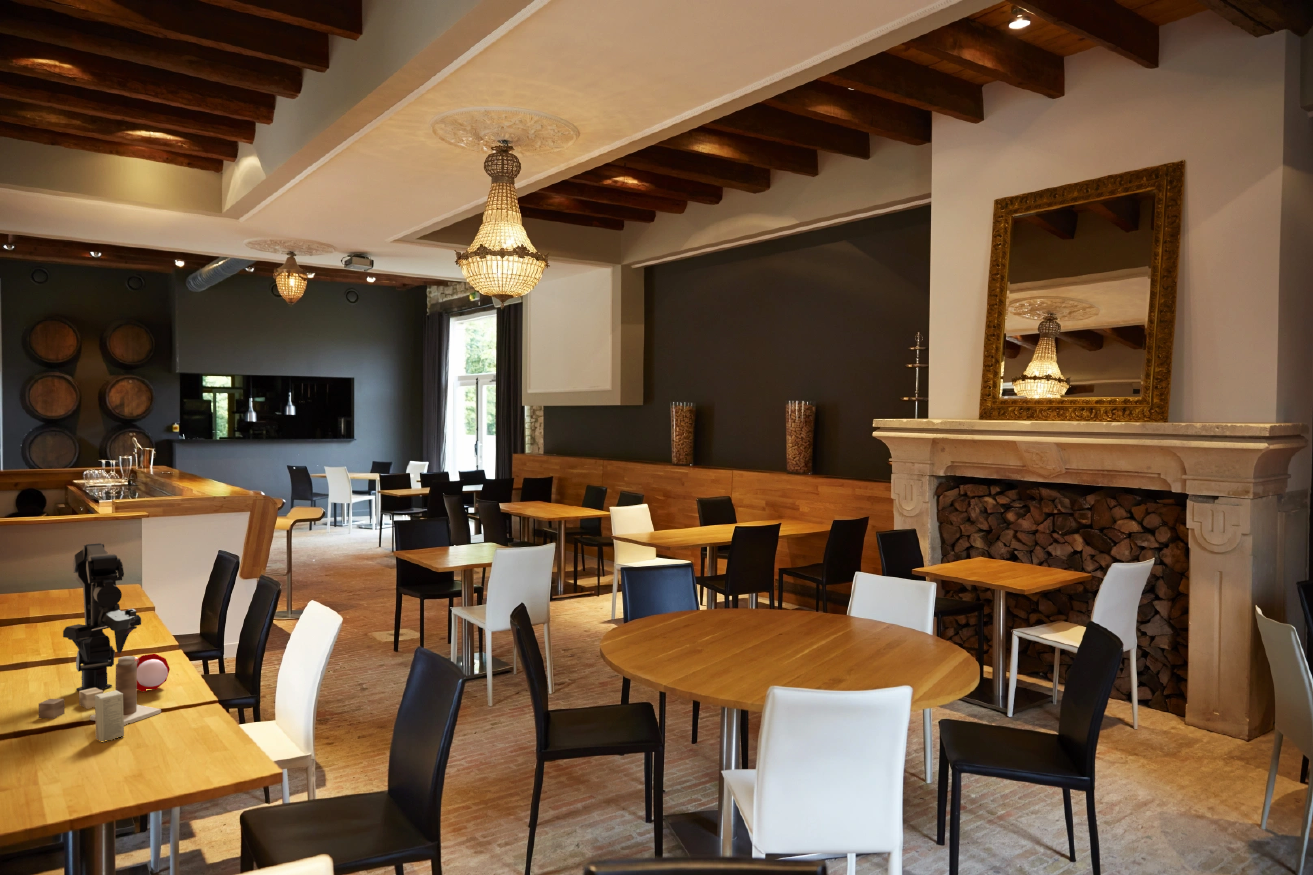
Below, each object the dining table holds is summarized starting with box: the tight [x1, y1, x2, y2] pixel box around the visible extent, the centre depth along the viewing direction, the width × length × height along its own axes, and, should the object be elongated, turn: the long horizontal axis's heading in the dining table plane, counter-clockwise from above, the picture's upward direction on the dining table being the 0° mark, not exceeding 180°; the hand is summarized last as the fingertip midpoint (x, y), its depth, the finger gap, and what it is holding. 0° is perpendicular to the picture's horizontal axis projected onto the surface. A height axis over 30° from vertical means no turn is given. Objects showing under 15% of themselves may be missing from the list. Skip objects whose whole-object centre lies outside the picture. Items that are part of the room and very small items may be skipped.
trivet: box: [89, 704, 162, 726], centre depth 227 cm, size 12×11×1 cm
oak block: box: [78, 688, 104, 709], centre depth 235 cm, size 5×4×4 cm
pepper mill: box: [115, 655, 138, 715], centre depth 227 cm, size 5×5×14 cm
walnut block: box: [38, 698, 65, 720], centre depth 227 cm, size 4×4×4 cm
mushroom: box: [134, 653, 171, 693], centre depth 248 cm, size 11×11×12 cm
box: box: [94, 689, 125, 742], centre depth 211 cm, size 5×4×11 cm
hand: (103, 656), depth 236 cm, fingers open, 9 cm apart
